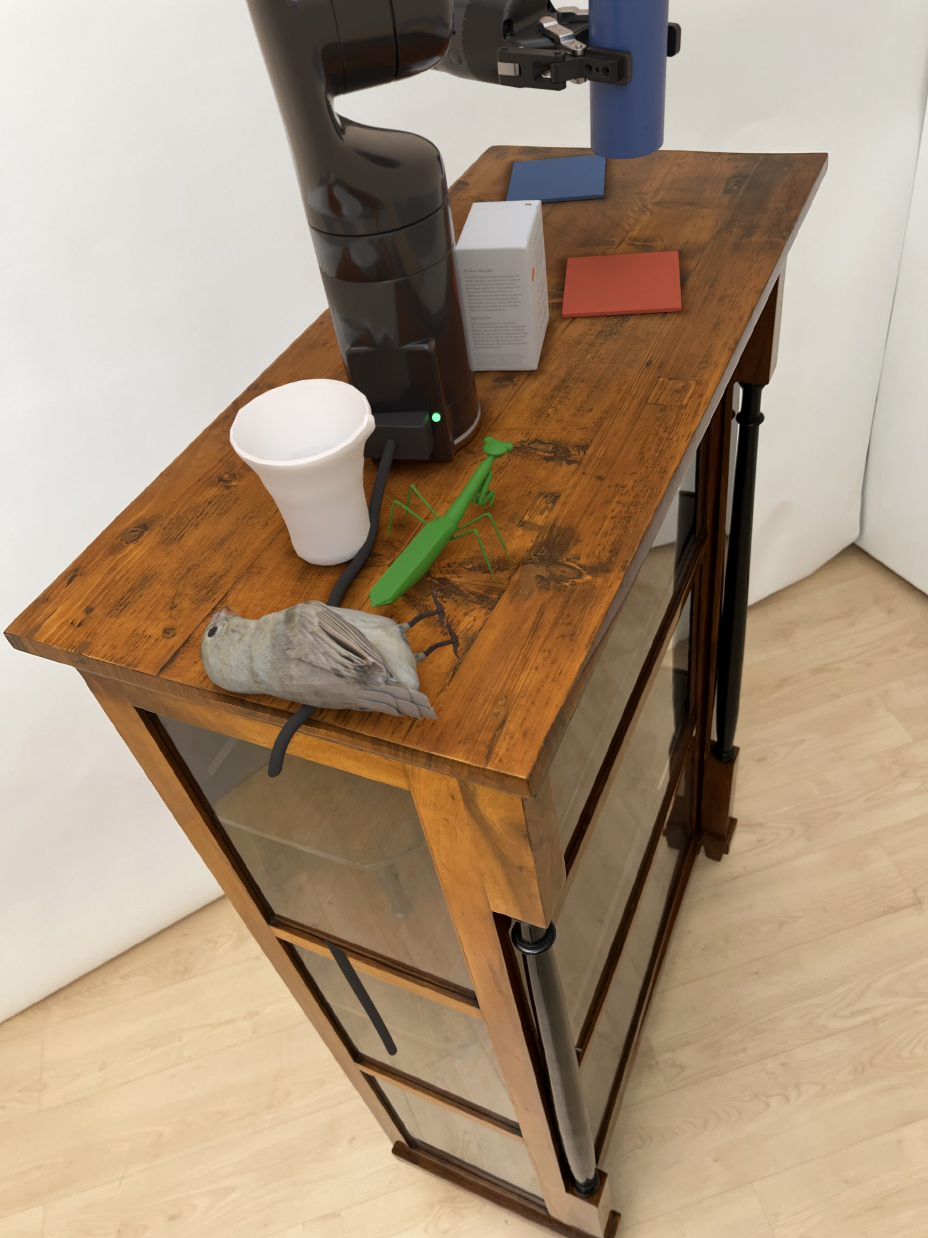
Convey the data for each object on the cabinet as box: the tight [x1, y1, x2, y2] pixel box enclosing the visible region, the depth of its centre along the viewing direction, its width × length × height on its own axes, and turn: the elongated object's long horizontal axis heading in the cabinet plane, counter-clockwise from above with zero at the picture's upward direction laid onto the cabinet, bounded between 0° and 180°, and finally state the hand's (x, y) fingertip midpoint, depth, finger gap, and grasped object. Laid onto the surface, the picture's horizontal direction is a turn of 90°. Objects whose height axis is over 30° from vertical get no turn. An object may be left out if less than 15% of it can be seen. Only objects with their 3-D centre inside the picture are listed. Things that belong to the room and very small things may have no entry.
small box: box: [456, 200, 550, 372], centre depth 75 cm, size 8×6×10 cm
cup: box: [229, 378, 375, 566], centre depth 61 cm, size 9×9×10 cm
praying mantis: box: [368, 435, 516, 608], centre depth 61 cm, size 9×15×4 cm, turn 145°
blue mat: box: [505, 154, 607, 204], centre depth 100 cm, size 10×10×1 cm
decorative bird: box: [200, 582, 463, 721], centre depth 54 cm, size 5×16×7 cm
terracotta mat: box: [561, 250, 683, 319], centre depth 83 cm, size 10×10×1 cm
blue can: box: [587, 0, 670, 160], centre depth 74 cm, size 6×6×12 cm
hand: (654, 54), depth 73 cm, fingers closed on blue can, 6 cm apart
